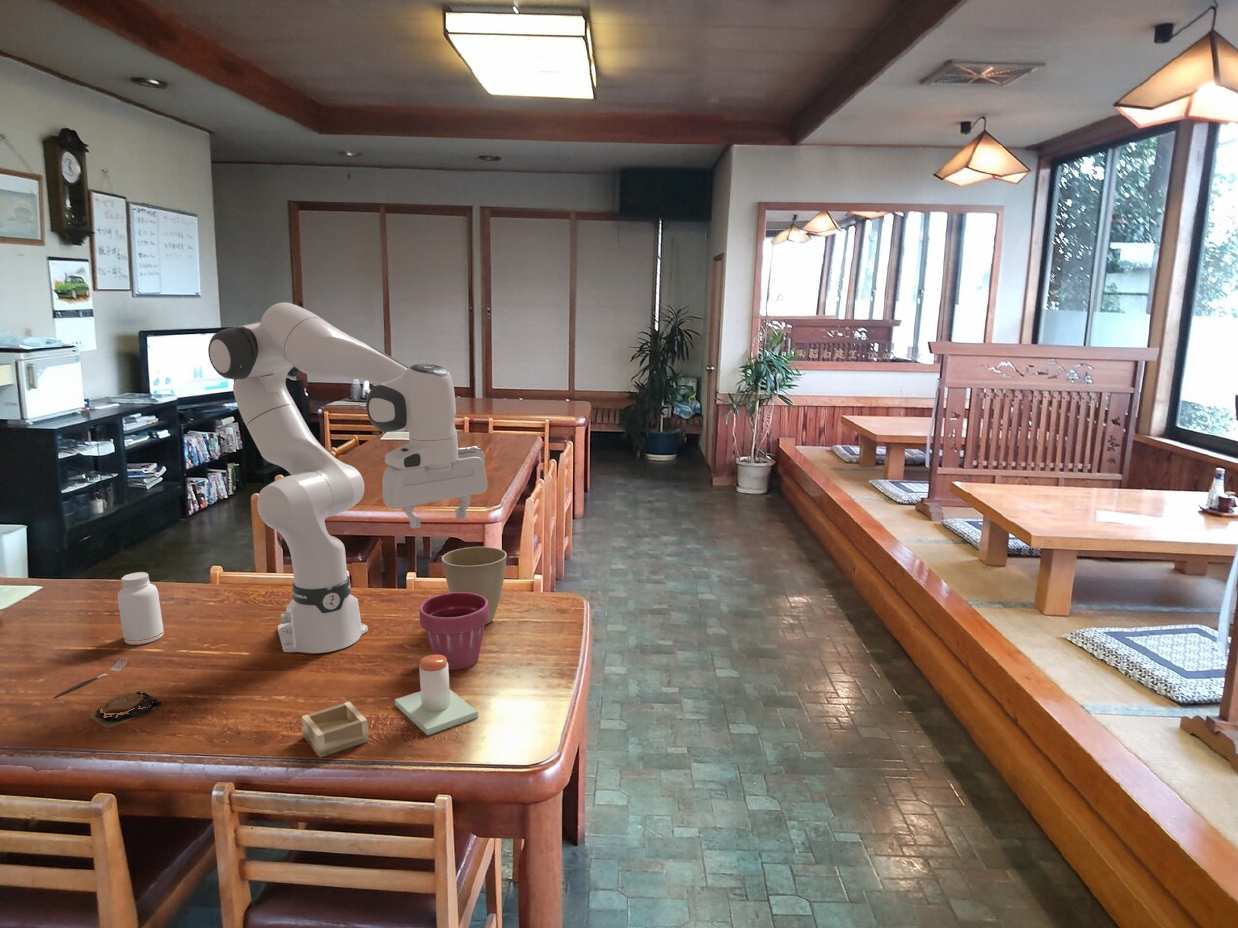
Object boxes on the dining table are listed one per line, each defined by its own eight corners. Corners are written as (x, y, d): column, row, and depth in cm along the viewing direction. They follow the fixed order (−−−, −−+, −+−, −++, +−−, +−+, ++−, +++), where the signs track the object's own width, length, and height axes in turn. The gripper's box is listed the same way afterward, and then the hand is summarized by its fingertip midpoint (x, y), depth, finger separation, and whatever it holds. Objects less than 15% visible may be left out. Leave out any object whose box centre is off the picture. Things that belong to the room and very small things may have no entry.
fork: (49, 699, 163) (47, 689, 163) (122, 664, 178) (121, 656, 177) (58, 701, 162) (57, 692, 162) (131, 666, 177) (130, 658, 177)
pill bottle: (115, 642, 188) (106, 579, 185) (147, 629, 196) (138, 568, 192) (141, 647, 185) (131, 583, 182) (172, 634, 193) (163, 572, 189)
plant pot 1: (520, 622, 196) (517, 557, 193) (461, 638, 188) (457, 570, 185) (492, 603, 208) (489, 542, 205) (435, 617, 200) (431, 553, 197)
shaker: (416, 703, 156) (414, 659, 154) (442, 695, 159) (440, 651, 157) (429, 714, 152) (426, 669, 150) (455, 706, 155) (452, 661, 153)
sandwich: (108, 732, 151) (106, 713, 150) (87, 719, 156) (84, 701, 155) (168, 708, 160) (165, 690, 159) (145, 696, 164) (143, 678, 164)
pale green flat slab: (395, 705, 158) (394, 699, 158) (443, 689, 164) (443, 683, 164) (427, 735, 147) (426, 729, 147) (478, 717, 153) (477, 711, 153)
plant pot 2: (477, 678, 169) (474, 618, 166) (411, 673, 171) (407, 614, 168) (499, 648, 182) (497, 593, 180) (438, 644, 185) (435, 589, 182)
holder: (303, 737, 147) (301, 716, 147) (351, 721, 152) (349, 701, 152) (319, 757, 141) (317, 736, 140) (368, 740, 146) (367, 719, 145)
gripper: (475, 442, 166) (479, 510, 169) (376, 456, 154) (381, 528, 156) (491, 447, 161) (494, 516, 164) (389, 461, 149) (395, 536, 152)
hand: (438, 522), depth 160 cm, fingers open, 8 cm apart
